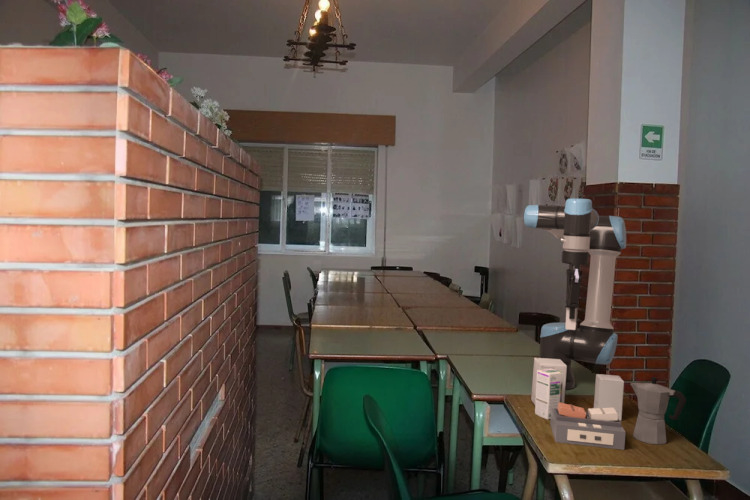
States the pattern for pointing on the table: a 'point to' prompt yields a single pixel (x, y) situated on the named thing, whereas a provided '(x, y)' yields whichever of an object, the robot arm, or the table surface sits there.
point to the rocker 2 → (602, 414)
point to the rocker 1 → (571, 410)
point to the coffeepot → (654, 411)
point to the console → (587, 431)
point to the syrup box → (548, 391)
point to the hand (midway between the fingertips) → (570, 329)
